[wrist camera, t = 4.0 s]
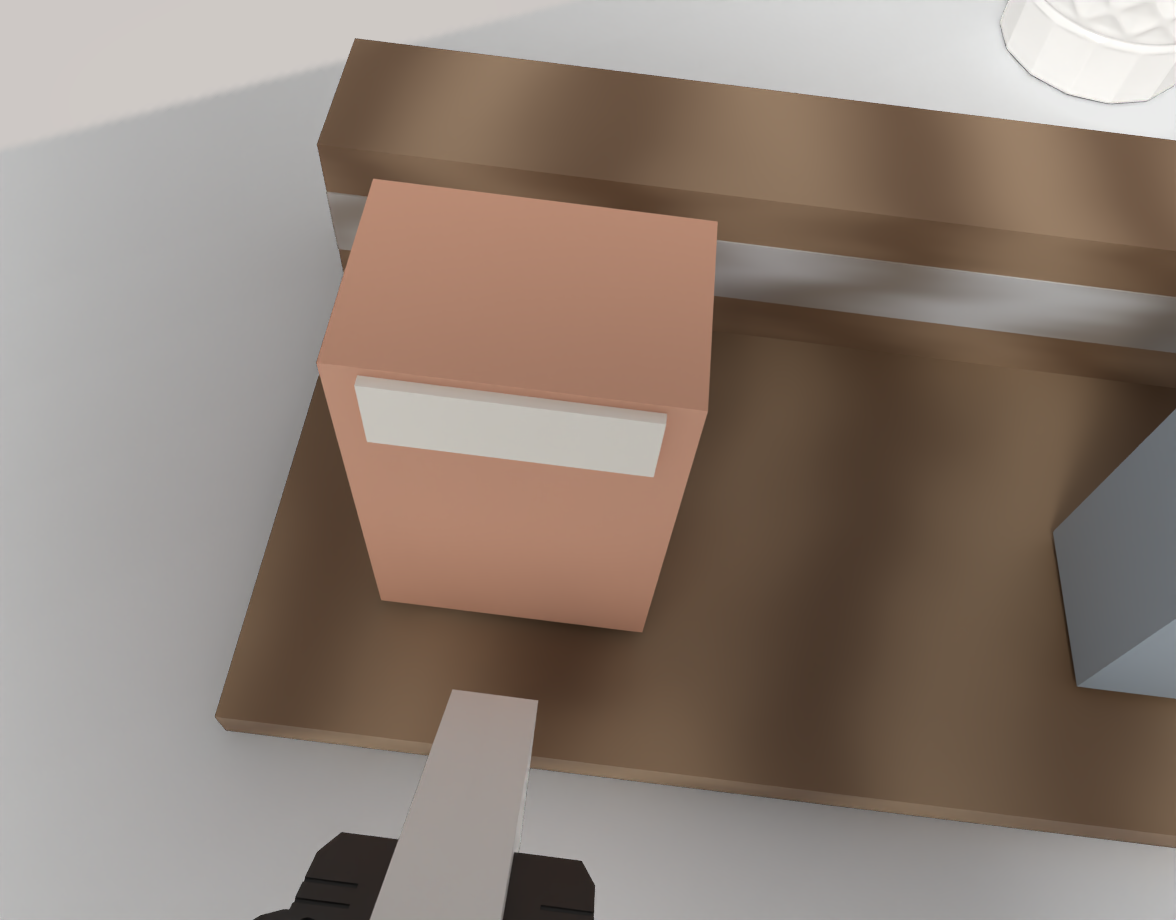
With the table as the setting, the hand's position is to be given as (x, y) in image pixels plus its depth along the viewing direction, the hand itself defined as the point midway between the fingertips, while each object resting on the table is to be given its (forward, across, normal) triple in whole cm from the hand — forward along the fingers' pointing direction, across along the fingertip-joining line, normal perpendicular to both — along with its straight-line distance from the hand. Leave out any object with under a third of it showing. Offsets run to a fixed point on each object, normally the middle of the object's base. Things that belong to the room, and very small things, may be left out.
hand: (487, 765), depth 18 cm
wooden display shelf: (+11, +8, +4) cm, 14 cm away
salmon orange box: (+7, 0, +2) cm, 7 cm away
